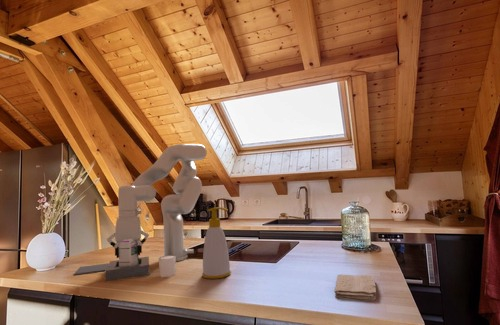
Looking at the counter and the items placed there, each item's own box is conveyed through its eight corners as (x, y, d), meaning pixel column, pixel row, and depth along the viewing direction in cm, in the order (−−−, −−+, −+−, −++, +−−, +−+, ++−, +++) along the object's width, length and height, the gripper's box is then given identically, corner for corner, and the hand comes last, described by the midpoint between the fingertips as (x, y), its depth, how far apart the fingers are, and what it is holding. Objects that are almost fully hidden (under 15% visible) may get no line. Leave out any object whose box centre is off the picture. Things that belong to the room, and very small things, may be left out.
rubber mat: (108, 264, 137) (108, 263, 137) (105, 271, 125) (105, 269, 125) (80, 268, 132) (80, 266, 132) (73, 275, 121) (73, 273, 121)
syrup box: (131, 274, 118) (130, 239, 119) (118, 274, 119) (118, 239, 120) (139, 270, 123) (138, 236, 125) (126, 270, 125) (126, 236, 126)
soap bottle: (224, 280, 105) (221, 208, 107) (196, 278, 109) (194, 209, 111) (236, 271, 115) (233, 206, 117) (210, 269, 119) (208, 206, 121)
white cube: (179, 272, 117) (179, 255, 118) (169, 278, 111) (169, 259, 111) (165, 272, 119) (165, 254, 120) (155, 277, 113) (154, 259, 114)
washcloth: (334, 300, 84) (333, 289, 84) (336, 280, 101) (336, 271, 101) (378, 303, 80) (377, 292, 80) (373, 282, 97) (372, 272, 97)
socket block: (148, 265, 131) (148, 256, 132) (149, 274, 116) (148, 264, 117) (110, 270, 126) (110, 261, 126) (105, 281, 111) (105, 270, 111)
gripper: (149, 212, 130) (150, 251, 128) (106, 215, 124) (107, 256, 122) (149, 213, 123) (150, 255, 121) (104, 216, 117) (104, 260, 115)
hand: (128, 255), depth 122 cm, fingers closed on syrup box, 7 cm apart
